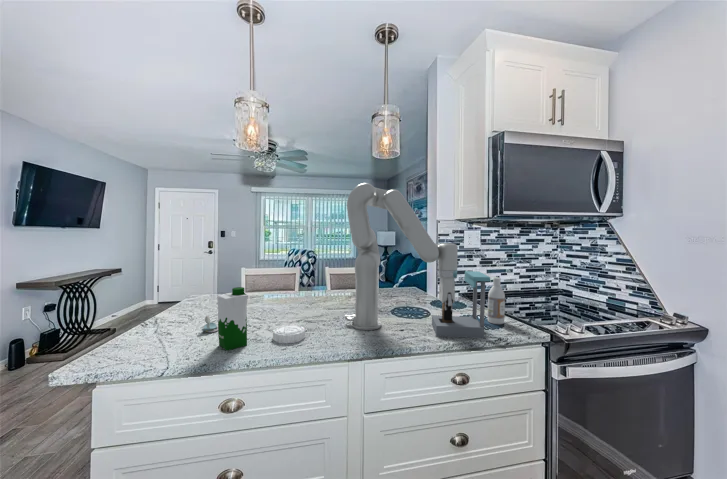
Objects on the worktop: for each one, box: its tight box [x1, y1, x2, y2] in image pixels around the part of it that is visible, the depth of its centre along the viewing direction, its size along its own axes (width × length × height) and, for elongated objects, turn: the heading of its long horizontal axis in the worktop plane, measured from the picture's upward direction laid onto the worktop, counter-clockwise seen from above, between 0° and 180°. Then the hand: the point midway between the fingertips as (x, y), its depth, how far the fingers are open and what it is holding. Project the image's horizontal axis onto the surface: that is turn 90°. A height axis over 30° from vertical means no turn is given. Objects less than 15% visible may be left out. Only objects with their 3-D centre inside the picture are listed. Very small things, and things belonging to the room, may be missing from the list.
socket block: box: [431, 314, 485, 339], centre depth 125 cm, size 18×14×4 cm
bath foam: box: [487, 276, 506, 325], centre depth 137 cm, size 7×7×20 cm
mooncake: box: [272, 324, 306, 344], centre depth 117 cm, size 12×12×4 cm
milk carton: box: [216, 286, 249, 351], centre depth 108 cm, size 9×9×20 cm
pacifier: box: [201, 315, 218, 333], centre depth 123 cm, size 7×6×6 cm
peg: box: [441, 301, 452, 323], centre depth 125 cm, size 4×4×10 cm
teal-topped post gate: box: [464, 270, 491, 328], centre depth 124 cm, size 6×15×24 cm, turn 174°
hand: (447, 317), depth 126 cm, fingers closed on peg, 4 cm apart
